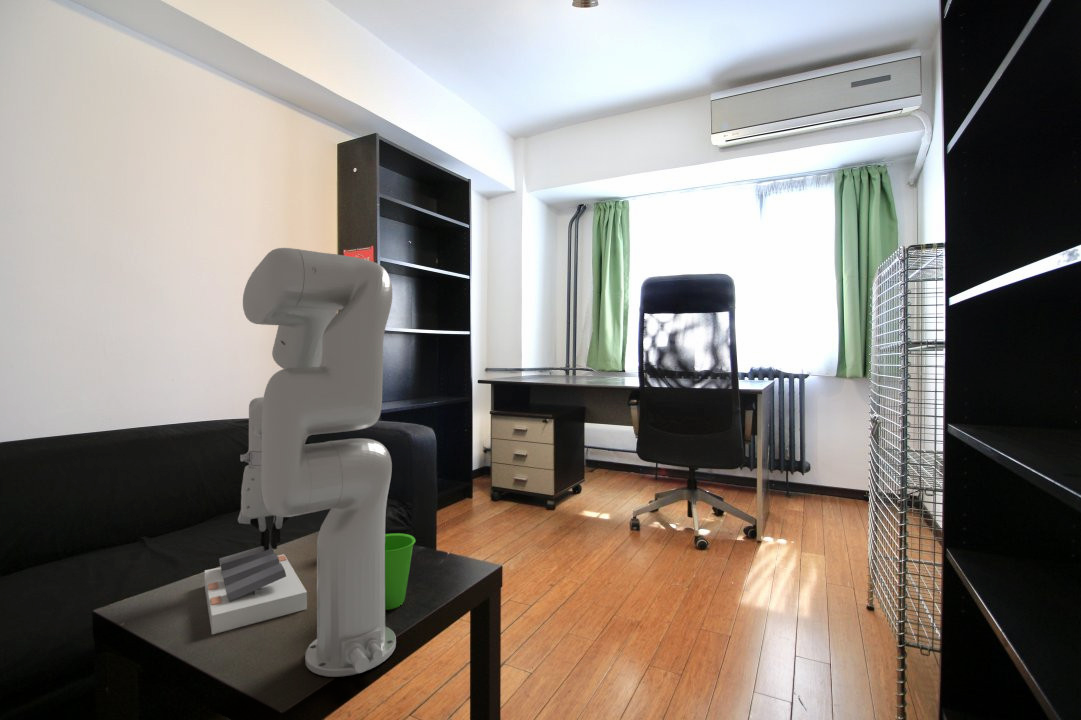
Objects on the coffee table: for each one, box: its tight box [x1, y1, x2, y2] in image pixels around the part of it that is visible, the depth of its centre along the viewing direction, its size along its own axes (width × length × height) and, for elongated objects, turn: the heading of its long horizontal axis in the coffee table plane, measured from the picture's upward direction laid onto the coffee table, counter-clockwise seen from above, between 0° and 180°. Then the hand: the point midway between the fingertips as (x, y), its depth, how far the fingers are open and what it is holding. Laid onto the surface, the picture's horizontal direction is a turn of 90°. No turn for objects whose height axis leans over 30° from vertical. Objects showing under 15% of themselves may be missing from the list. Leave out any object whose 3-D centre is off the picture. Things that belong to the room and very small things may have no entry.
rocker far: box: [219, 543, 275, 571], centre depth 100 cm, size 4×9×1 cm, turn 126°
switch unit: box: [204, 553, 308, 635], centre depth 94 cm, size 22×14×4 cm, turn 36°
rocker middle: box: [222, 552, 279, 586], centre depth 95 cm, size 4×9×1 cm, turn 126°
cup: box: [385, 532, 416, 611], centre depth 91 cm, size 9×9×11 cm
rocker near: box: [225, 563, 286, 602], centre depth 89 cm, size 4×9×1 cm, turn 126°
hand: (269, 547), depth 103 cm, fingers closed
